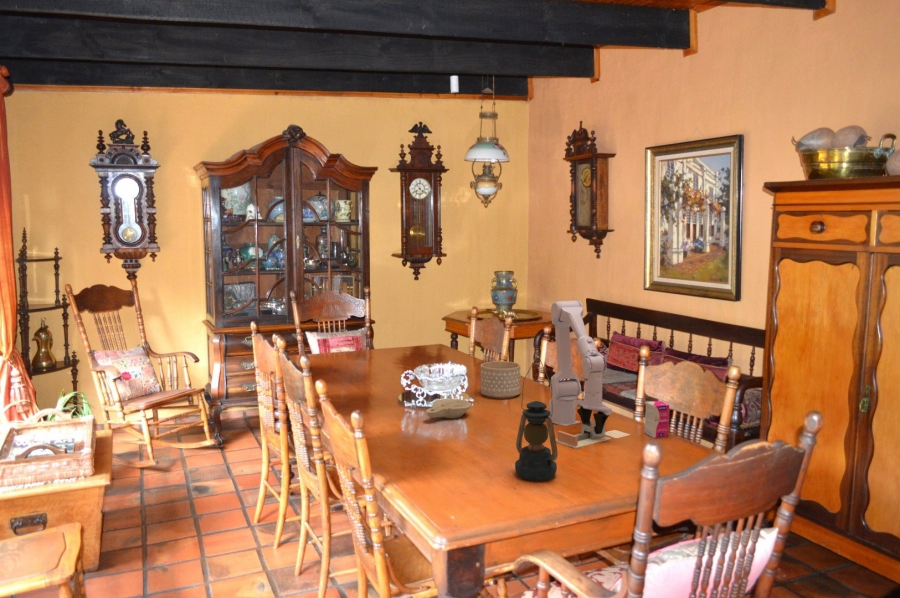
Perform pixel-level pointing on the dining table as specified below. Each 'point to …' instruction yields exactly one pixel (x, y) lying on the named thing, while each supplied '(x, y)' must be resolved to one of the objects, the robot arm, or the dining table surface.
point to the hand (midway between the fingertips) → (592, 431)
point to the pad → (616, 434)
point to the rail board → (577, 439)
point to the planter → (500, 379)
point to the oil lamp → (448, 408)
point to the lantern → (536, 442)
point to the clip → (592, 430)
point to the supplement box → (656, 419)
